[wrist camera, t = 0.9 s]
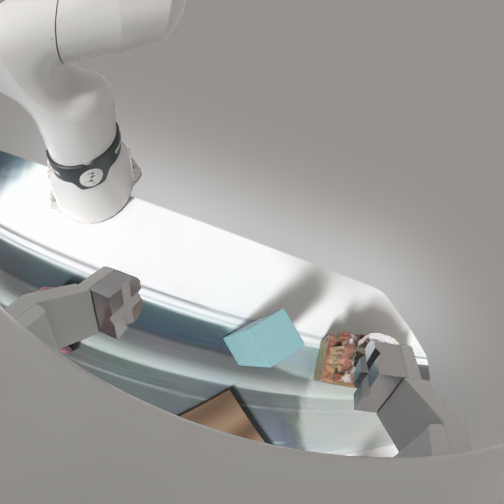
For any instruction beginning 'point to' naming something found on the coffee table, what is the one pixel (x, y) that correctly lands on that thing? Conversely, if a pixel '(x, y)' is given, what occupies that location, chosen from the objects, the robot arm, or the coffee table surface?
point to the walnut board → (223, 416)
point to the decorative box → (344, 356)
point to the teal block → (264, 340)
